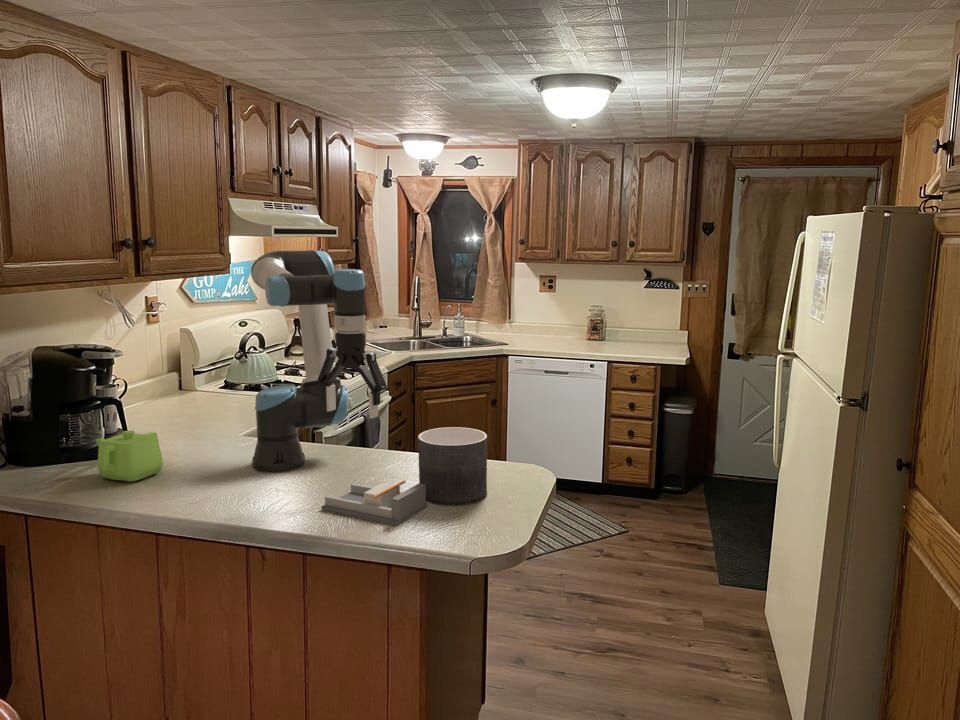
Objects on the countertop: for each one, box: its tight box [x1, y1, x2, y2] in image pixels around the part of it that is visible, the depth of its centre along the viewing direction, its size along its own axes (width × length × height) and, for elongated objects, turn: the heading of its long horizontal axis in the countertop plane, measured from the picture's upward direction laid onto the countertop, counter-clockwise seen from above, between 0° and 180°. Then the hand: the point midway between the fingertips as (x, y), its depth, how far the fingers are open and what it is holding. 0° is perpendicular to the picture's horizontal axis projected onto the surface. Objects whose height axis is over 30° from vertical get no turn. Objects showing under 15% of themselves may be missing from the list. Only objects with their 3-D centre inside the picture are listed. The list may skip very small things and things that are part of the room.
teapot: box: [95, 430, 164, 483], centre depth 204 cm, size 18×20×13 cm
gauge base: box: [321, 483, 429, 527], centre depth 179 cm, size 22×14×6 cm, turn 63°
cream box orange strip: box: [364, 480, 406, 508], centre depth 178 cm, size 6×13×5 cm, turn 153°
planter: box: [417, 426, 488, 506], centre depth 189 cm, size 18×18×16 cm
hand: (352, 413), depth 185 cm, fingers open, 13 cm apart
